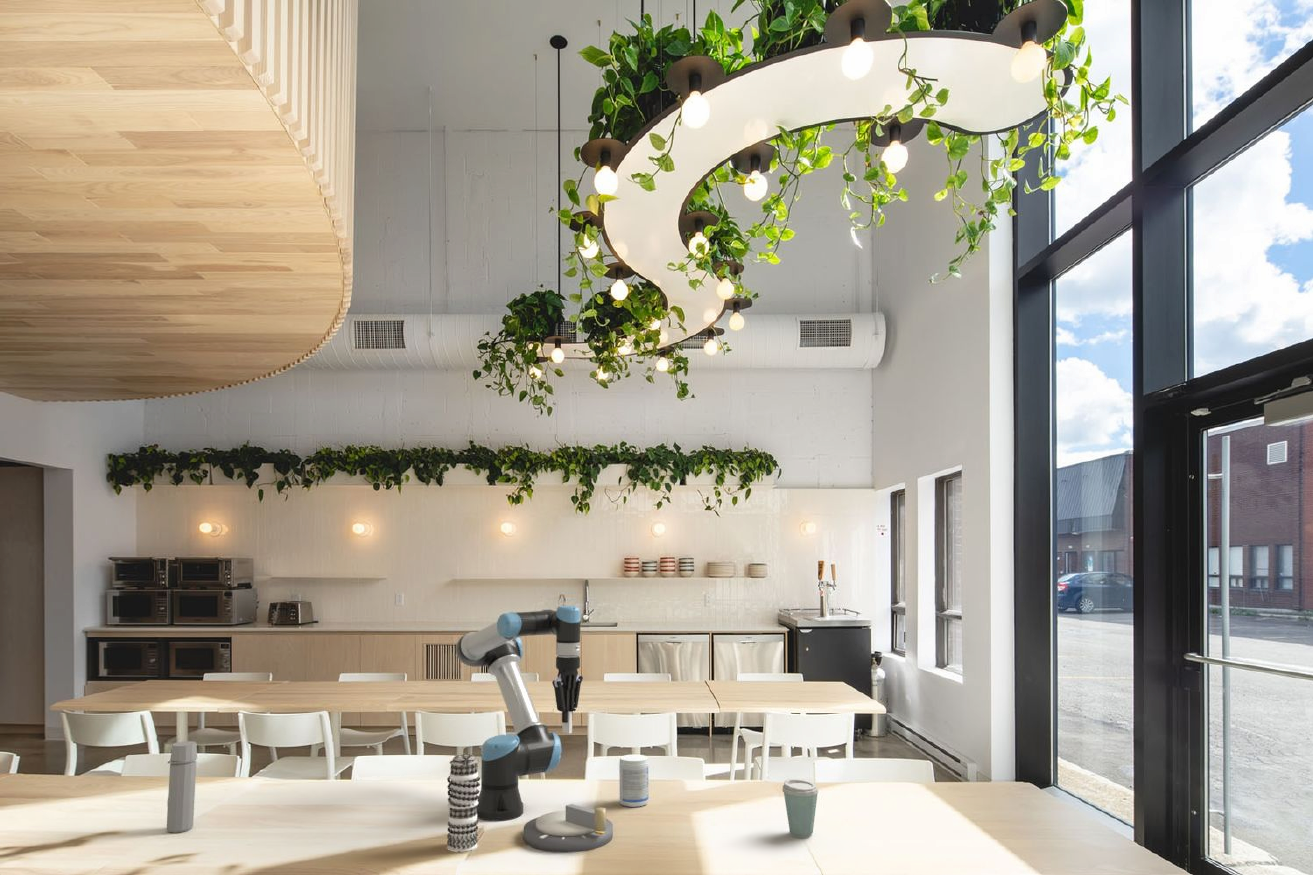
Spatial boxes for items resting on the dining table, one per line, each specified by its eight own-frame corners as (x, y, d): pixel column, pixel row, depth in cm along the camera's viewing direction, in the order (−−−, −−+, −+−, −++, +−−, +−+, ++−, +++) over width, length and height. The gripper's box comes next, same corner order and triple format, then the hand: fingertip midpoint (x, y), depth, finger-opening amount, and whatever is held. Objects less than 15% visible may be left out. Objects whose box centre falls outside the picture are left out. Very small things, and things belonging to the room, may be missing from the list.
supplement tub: (654, 804, 299) (654, 758, 301) (629, 809, 294) (629, 762, 296) (638, 797, 308) (638, 752, 309) (613, 802, 302) (614, 756, 304)
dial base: (504, 841, 264) (505, 829, 264) (560, 817, 286) (560, 806, 286) (577, 858, 250) (577, 845, 250) (629, 832, 272) (629, 820, 272)
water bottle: (199, 827, 276) (204, 742, 278) (176, 835, 268) (181, 747, 271) (178, 823, 279) (183, 739, 282) (155, 830, 272) (160, 744, 275)
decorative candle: (462, 854, 253) (465, 761, 255) (438, 848, 257) (440, 757, 260) (485, 845, 260) (487, 754, 263) (461, 839, 265) (463, 750, 268)
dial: (522, 826, 267) (522, 801, 268) (569, 811, 281) (569, 787, 282) (580, 844, 251) (580, 818, 252) (627, 828, 266) (627, 802, 266)
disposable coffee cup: (821, 831, 273) (821, 779, 275) (816, 842, 263) (815, 788, 265) (786, 827, 277) (786, 776, 278) (779, 838, 267) (778, 785, 268)
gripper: (564, 659, 281) (563, 738, 278) (589, 654, 292) (589, 730, 289) (545, 657, 285) (544, 735, 282) (571, 652, 296) (570, 727, 293)
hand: (567, 732), depth 286 cm, fingers closed
